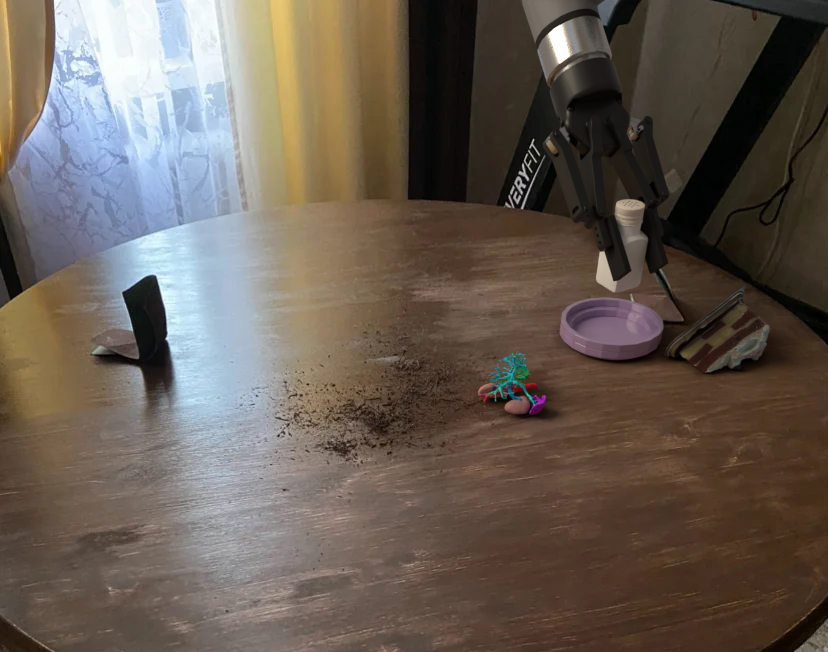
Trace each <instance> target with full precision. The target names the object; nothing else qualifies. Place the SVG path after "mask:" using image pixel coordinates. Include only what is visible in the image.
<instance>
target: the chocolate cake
mask: <svg viewBox="0 0 828 652" xmlns="http://www.w3.org/2000/svg"><path fill="white" fill-rule="evenodd" d="M746 288H747V284H744V285H743V286H741V287H740V288H738V289H737V290H736V291H735V292H734V293H732V294H731V295H730V296H728V297H727V298H725V299H724V300H723V301H721V302H720V303H719V304H718V305H716V306H715V307H714V308H713V309H711V310H710V311H709V312H707V314H706V315H704V316H703V317H701V318H700V319H698V320H697V321H696V322H694V323H693V324H692V326H690V327H688V329H687V330H684V331H682V332H681V333H680V334H679V335H678V336H676V337H675V338H674V339H673V340H672V341H671V342H670V343H669V344H668V346H666V350H665V352H664V356H665V357H673V358H678V357H679V356H681V357H682V358H683V359H686V360H687V361H688V363H690V364H691V365H693V366H694V367H695V368H697V369H698V370H699V371H700V372H701V373H703V374H707V373H712V372H714V371H718V370H719V369H720V370H721V369H723V367H726V366H727V367H728V369H731V370H732V369H733V370H735V371H740V370H741V369H742V365H741V363H742V361H743V360H746V359H747V360H748V359H751V360H752V361H757V360H759V358H760V357H761V356H762V355H763V353H764V351H765V349H766V346H767V345H768V343H767V340H768V337H769V334H770V329H771V327H770V325H769V324H768V323H767V322H766V321H765V320H764V319H763V318H761V317H760V316H759V315H758V314H757V313H755V311H753V310H752V309H751V308H750V307H749V306H747V305H746V304H745V300H744V294H745V289H746Z"/></svg>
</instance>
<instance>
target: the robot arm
mask: <svg viewBox="0 0 828 652" xmlns="http://www.w3.org/2000/svg"><path fill="white" fill-rule="evenodd" d="M519 1H520V2H521V6H522V7H523V11H524V13H525V16H526V20H527V22H528V25H529V28H530V32H531V35H532V38H533V41H534V44H535V48H536V51H537V56H538V59H539V63H540V65H541V68H542V71H543V76H544V78H545V82H546V84H547V86H548V87H549V88H550V89H549V95H550V99H551V102H552V105H553V108H554V112H555V116H556V118H557V120H558V121H559V122H560V127H559V129H558V128H555V129H553V130H552V131H551V132H550V134H549V135H548V136H547V137H546V139H545V140H544V141H543V143H542V148H543V150H544V151H545V152H546V154H547V155H548V157H549V158H550V160H551V162H552V164H553V166H554V170H555V173H556V176H557V179H558V182H559V185H560V188H561V191H562V194H563V197H564V200H565V203H566V206H567V210H568V212H569V215H570V219H571V221H572V222H573V223H575V224H580V223H583V226H584V228H585V229H587V230H591V231H592V234H593V237H594V240H595V244H596V247H597V249H598V252H599V253H600V252H603V251H604V252H605V255H606V259H607V262H608V265H609V269H610V272H611V275H612V278H613V282H614V281H618V280H620V279H622V278H623V277H624V276H626V275H627V274H628V273H630V272H631V271H632V270H631V267H630V264H629V260H628V257H627V254H626V251H625V247H624V244H623V241H622V238H621V234H620V231H619V228H618V224H617V221H616V218H615V215H614V214H611V215H608V216H607V213H608V209H607V208H608V207H607V200H606V190H605V182H604V173H603V172H604V171H603V164H602V163H603V162H602V157H603V158H605V160H606V162H607V164H608V165H609V166H612V167H613V169H614V170H615V171H614V172H615V173H616V175H617V176H618V179H619V180H620V183H621V185H622V186H623V188H624V190H625V192H626V194H627V196H628V199H633V200H638V201H641V202H643V203H644V204H645V208H644V214H643V222H642V224H641V228H640V231H642V232H643V233H644V234H645V235H646V236H647V237H648V244H647V249H646V255H645V260H644V261H645V263H646V266H647V269H648V272H649V274H655V273H657V272H658V271H660V270H661V269H662V268H664V267H665V266H667V265H668V264H669V260H668V257H667V253H666V250H665V247H664V244H663V243H664V242H663V240H662V237H664V233H665V232H664V228H663V225H662V221H661V218H660V215H659V211H658V208H659V206H661V205H662V204H663V203H664V202H665V201H667V200H668V198H669V197H670V193H669V189H668V185H667V182H666V178H665V174H664V172H663V171H664V170H663V167H662V164H661V161H660V157H659V154H658V149H657V146H656V141H655V139H654V134H653V133H654V120H653V117H651V116H650V115H646V116H644V117H643V118H642V119H639V118H636V117H632V116H631V113H630V112H629V110H628V109H627V108H626V107H625V105H624V103H623V87H622V84H621V81H620V78H619V75H618V71H617V67H616V64H615V62H614V61H613V60H612V57H613V54H612V51H611V47H610V44H609V41H608V38H607V35H606V32H605V28H604V25H603V22H602V18H601V15H600V13H599V8H598V7H599V5H600V4H602V3H603V2H605V0H519ZM628 134H629V135H628ZM572 148H574V149H575V150H576V154H577V159H576V157H575V153H574V151H573V149H572ZM580 171H581V172H580Z"/></svg>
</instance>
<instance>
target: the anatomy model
mask: <svg viewBox="0 0 828 652" xmlns="http://www.w3.org/2000/svg"><path fill="white" fill-rule="evenodd" d="M518 352H519V351H518V350H517V351H516V353H514V352H513V351H512V352H511V353H509V355H508V356H506V357H505V356H504V357H503V359H501V358H500V359H499V360H498V362H500V363H503V368H502V369H503V370H507V371H508V372H507V371H501V370H500V367H499V366H500V365H499V363H497V365H496V366H494V370H495V371H494V372H492V373H489V374H488V377H490V376H491V377H490V378H489V379H488V380H490V382H488V383H486V384H483V385H482V386H480V387H479V389H478V391H477V394H478V396H479V397H482V398H483V403H486V401H487V400H488V399H494V402H497V399H500V398H502V399H505V400H506V399H508V397H507V396H508V395H509V397H510V398H511V400H509V401H508V402H506V403H505V405H504V411H505V412H507V413H509V414H513V415H524V414H527V413H528V412H529V414H530V415H531V416H534V415H536V414H538V413H540V412H541V411H542V410H543V409H544V407H545V405H546V401H547V396H546V395H545V394H544V395H541V396H542V397H541V398H540V397H538V395H537V394H534V396H533V395H530V394H529V392H528V391H527V390H530V389H538V384H537V383H536V382H529V383H526V384H525V383H523V382H522V381H523V380H527V378H529V377H530V376H532V374H531V373H530V370H529V368H528V366H527V364H526V360H528V358H527V357H524V356H526V353H523V352H519V353H518ZM519 356H520V357H519ZM505 365H507V366H508V368H506V366H505ZM502 374H503V375H504V374H505V375H504V376H502V377H501V375H502ZM519 392H524V394H525V395H520V396H517V395H514V394H515V393H519ZM530 402H531V403H532V405H531V404H530ZM530 407H531V408H530Z"/></svg>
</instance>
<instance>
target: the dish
mask: <svg viewBox="0 0 828 652" xmlns="http://www.w3.org/2000/svg"><path fill="white" fill-rule="evenodd" d="M559 325H560V326H559V335H560V337H561V339H562V341H563V342H564V343H565V344H566V345H568V346H569V347H570V348H571V349H572V350H574V351H577V352H578V353H580V354H583V355H585V356H588V357H591V358H594V359H600V360H606V361H626V360H632V359H636V358H639V357H643V356H647V355H649V354H650V353H652V352H654V351H656V350H657V349H658V347H659V346H660V344H661V343H662V337H663V332H664V320H663V319H662V317H661V316H660V314H659V313H657V312H656V311H655V310H653V309H652V308H651V307H650V306H647V305H645V304H641V303H639V302H637V301H633V300H629V299H624V298H619V297H618V298H617V297H607V296H605V297H591V298H586V299H581V300H578V301H575V302H573V303H570V305H567V306H566V308H564V309H563V311H562V312H561V318H560V324H559Z"/></svg>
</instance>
